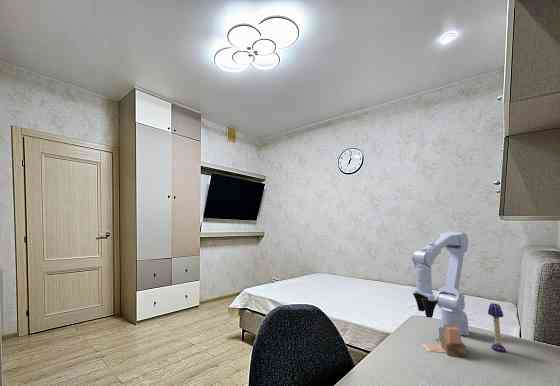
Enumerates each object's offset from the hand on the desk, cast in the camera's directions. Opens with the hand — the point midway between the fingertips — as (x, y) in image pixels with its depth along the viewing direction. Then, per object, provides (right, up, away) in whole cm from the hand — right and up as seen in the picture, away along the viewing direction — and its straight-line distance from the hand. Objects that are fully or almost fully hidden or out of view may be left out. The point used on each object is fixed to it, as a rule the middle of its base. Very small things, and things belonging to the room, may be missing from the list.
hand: (425, 314), depth 110 cm
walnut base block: (+4, -9, -12) cm, 15 cm away
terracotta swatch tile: (-2, -9, -9) cm, 13 cm away
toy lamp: (+22, -9, -10) cm, 26 cm away
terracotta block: (+4, -5, -11) cm, 13 cm away
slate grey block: (+7, -10, -3) cm, 13 cm away
